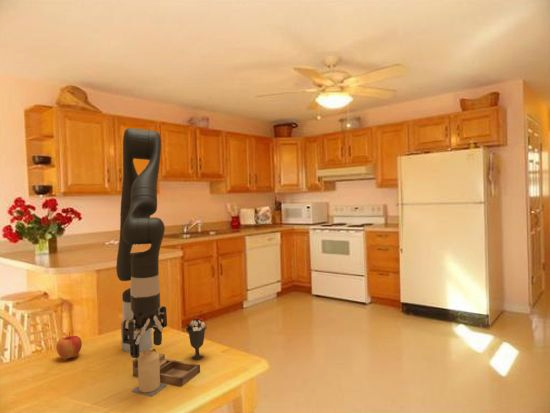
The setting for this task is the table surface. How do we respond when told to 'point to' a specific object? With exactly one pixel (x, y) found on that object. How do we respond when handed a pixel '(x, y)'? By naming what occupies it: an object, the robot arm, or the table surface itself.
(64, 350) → the apple
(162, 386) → the coaster
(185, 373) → the tray
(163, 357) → the offcut upper
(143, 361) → the candle
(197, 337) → the sundae
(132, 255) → the robot arm
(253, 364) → the table surface
